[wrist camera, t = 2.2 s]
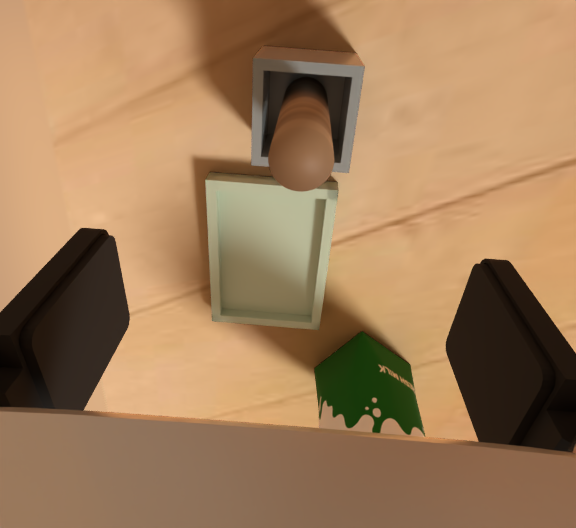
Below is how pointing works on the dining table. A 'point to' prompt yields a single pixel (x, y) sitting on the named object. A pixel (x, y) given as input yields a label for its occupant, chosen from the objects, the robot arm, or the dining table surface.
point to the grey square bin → (316, 64)
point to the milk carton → (367, 390)
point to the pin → (302, 137)
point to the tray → (268, 250)
